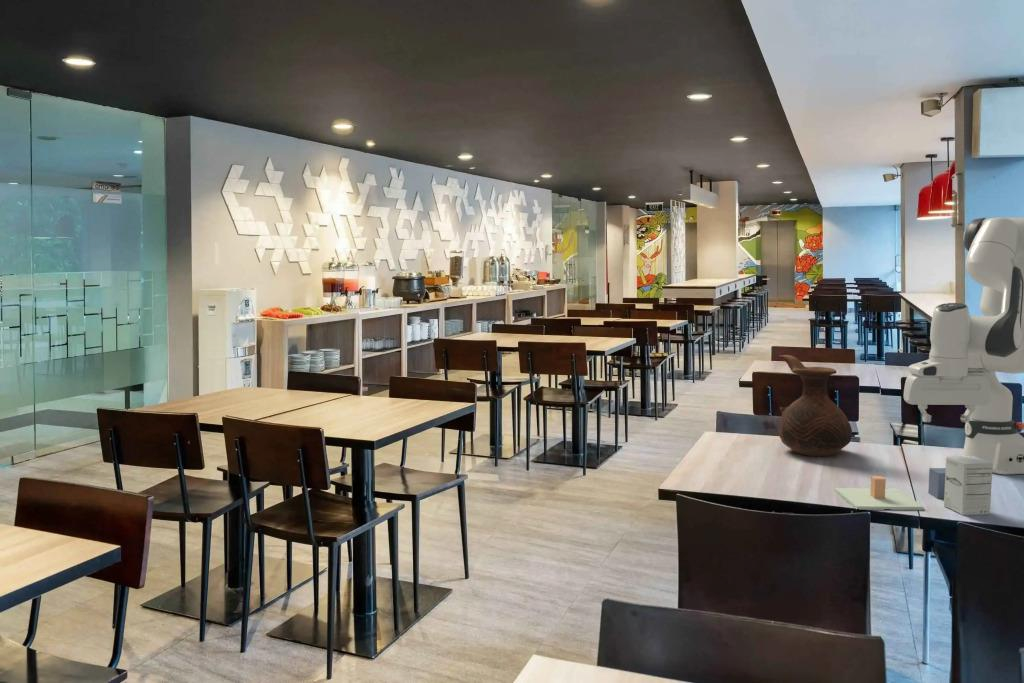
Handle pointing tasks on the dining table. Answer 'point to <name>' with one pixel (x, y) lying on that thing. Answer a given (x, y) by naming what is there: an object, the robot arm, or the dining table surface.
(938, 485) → the blue-grey block
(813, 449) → the jug
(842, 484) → the dining table surface
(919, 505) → the post board
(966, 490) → the supplement box
